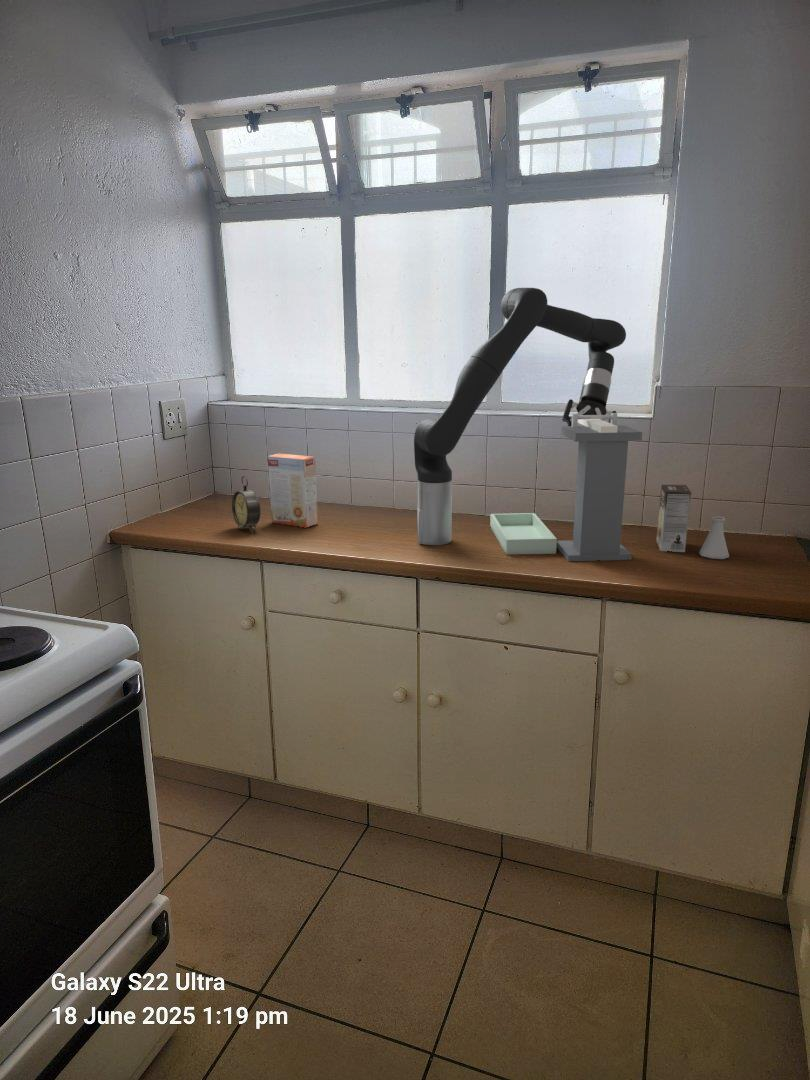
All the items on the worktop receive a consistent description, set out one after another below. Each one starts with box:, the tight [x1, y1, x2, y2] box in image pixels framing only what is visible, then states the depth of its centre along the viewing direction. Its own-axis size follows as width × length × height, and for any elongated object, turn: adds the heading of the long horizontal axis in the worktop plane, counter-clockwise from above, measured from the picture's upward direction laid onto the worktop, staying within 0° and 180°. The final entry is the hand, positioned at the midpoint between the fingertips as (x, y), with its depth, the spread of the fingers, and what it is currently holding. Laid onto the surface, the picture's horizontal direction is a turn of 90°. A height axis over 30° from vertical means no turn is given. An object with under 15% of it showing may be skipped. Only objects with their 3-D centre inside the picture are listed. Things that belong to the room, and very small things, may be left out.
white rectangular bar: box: [578, 419, 618, 433], centre depth 176 cm, size 4×22×2 cm, turn 2°
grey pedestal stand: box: [556, 412, 643, 562], centre depth 176 cm, size 16×13×35 cm
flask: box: [698, 515, 730, 560], centre depth 177 cm, size 7×7×10 cm
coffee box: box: [656, 484, 692, 553], centre depth 183 cm, size 9×6×16 cm
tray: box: [489, 512, 558, 556], centre depth 193 cm, size 13×27×4 cm, turn 2°
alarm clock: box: [231, 475, 261, 534], centre depth 204 cm, size 11×5×16 cm, turn 37°
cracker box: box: [267, 453, 319, 529], centre depth 210 cm, size 14×6×21 cm, turn 58°
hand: (584, 440), depth 194 cm, fingers open, 8 cm apart
